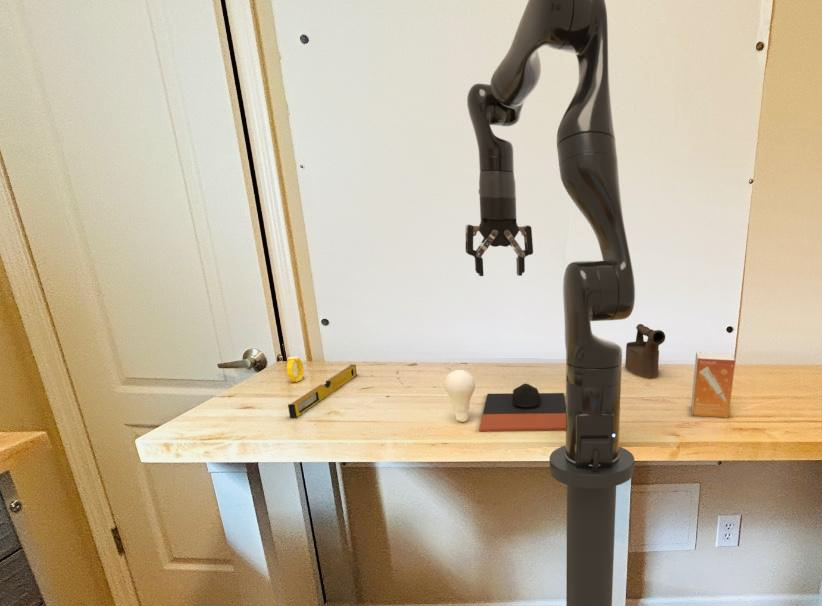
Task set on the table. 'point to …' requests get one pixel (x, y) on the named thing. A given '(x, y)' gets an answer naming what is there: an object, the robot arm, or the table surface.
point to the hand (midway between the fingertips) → (500, 275)
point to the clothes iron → (644, 352)
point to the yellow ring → (290, 368)
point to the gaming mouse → (526, 396)
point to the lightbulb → (460, 392)
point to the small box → (712, 384)
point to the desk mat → (524, 414)
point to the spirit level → (321, 391)
